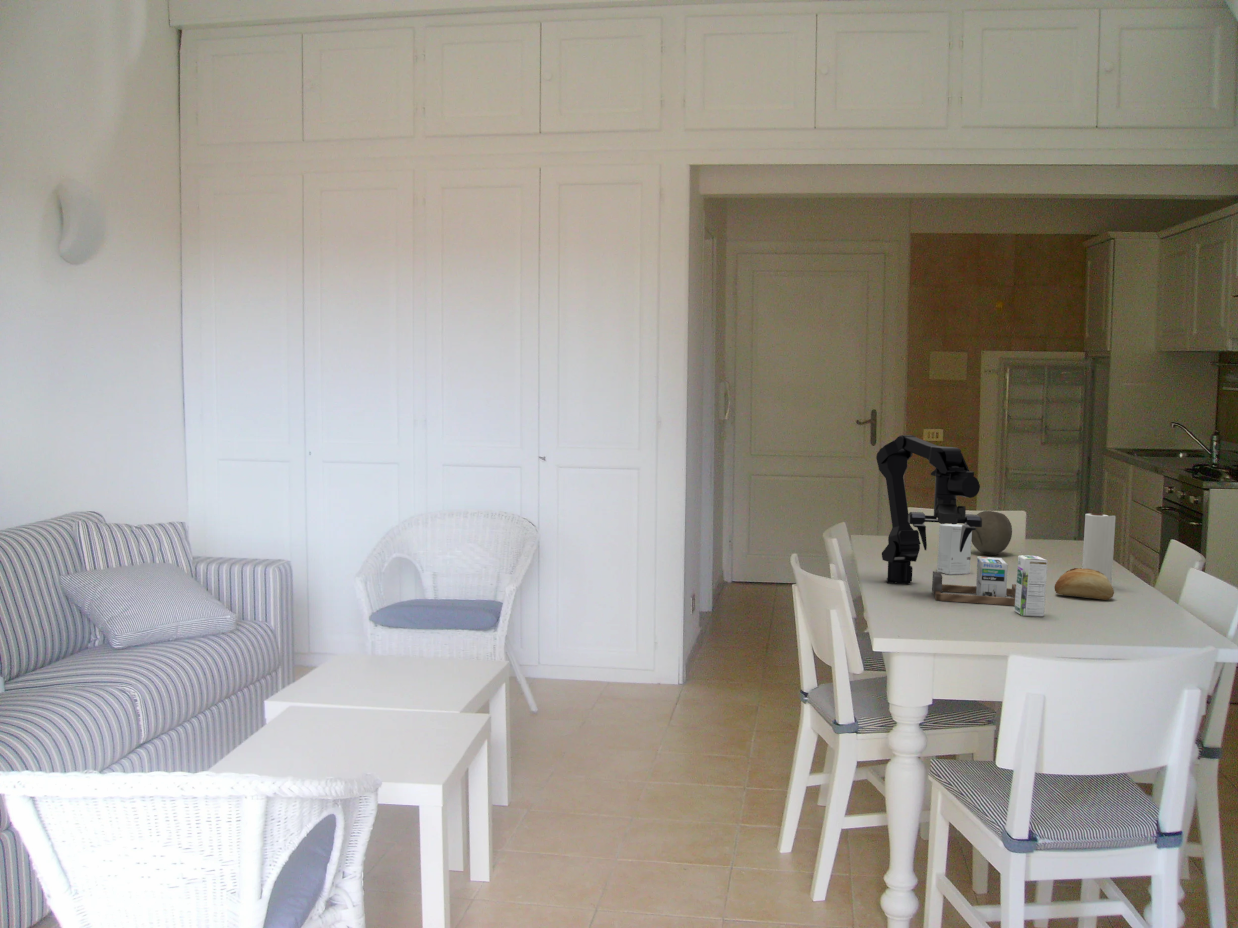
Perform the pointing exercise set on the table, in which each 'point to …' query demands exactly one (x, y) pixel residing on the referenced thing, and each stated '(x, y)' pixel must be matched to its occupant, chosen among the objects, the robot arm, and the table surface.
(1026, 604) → the syrup box
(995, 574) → the light bulb box
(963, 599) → the brown rectangular frame
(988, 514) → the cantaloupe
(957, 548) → the skincare box
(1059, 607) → the table surface
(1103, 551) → the paper towel roll
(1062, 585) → the bread roll
